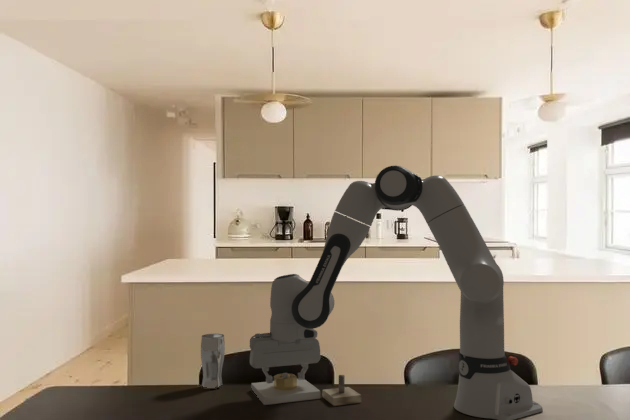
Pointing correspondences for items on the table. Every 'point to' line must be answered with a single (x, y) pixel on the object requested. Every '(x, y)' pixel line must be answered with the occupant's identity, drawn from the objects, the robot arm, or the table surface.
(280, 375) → the collar
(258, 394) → the block
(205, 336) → the beer glass
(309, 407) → the table surface
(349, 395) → the stand
